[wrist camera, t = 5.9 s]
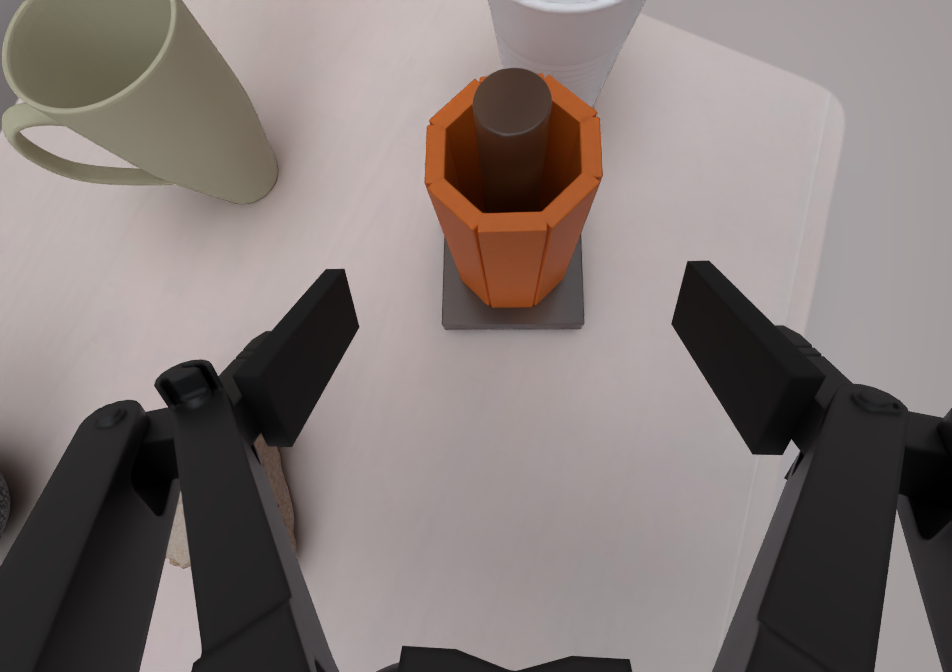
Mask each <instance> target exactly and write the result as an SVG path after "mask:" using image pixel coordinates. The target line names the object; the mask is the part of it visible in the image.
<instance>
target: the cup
mask: <svg viewBox="0 0 952 672" xmlns="http://www.w3.org/2000/svg"><path fill="white" fill-rule="evenodd" d="M645 1H646V0H488V3H489V7H490V12H491V16H492V20H493V24H494V29H495V33H496V38H497V42H498V47H499V52H500V56H501V61H502V65H503V69H506V68H523V69H527V70H530V71H532V72H534V73H536V74H540V73H542V74H543V75H544V78H545V77H546V76H548V75H550V76H552V77H553V78H554V79H556V80H557V81H558V82H560V83H561V84H562V85H563V86H565V87H566V88H567V89H569V90H570V91H571V92H572V93H574V94H575V95H576V96H578V97H579V98H580V99H581V100H583V101H584V102H585V103H587V104H588V105H589V106H591V107H593V105H594V103H595V101H596V99H597V97H598V95H599V93H600V91H601V88H602V86H603V84H604V82H605V80H606V78H607V76H608V74H609V72H610V70H611V68H612V66H613V64H614V62H615V60H616V58H617V56H618V55H619V52H620V50H621V49H622V46H623V44H624V42H625V41H626V38H627V36H628V35H629V32H630V30H631V28H632V27H633V25H634V23H635V21H636V19H637V17H638V15H639V13H640V11H641V9H642V7H643V5H644V3H645Z"/></svg>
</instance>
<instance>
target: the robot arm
mask: <svg viewBox="0 0 952 672" xmlns="http://www.w3.org/2000/svg"><path fill="white" fill-rule="evenodd" d="M671 324H672V326H673V327H674V329H675V331H676V332H677V334H678V335H679V337H680V339H681V340H682V342H683V344H684V345H685V347H686V348H687V350H688V352H689V353H690V355H691V356H692V358H693V360H694V361H695V363H696V364H697V366H698V368H699V369H700V371H701V372H702V374H703V376H704V377H705V379H706V380H707V382H708V384H709V385H710V387H711V388H712V390H713V392H714V393H715V395H716V396H717V398H718V400H719V401H720V403H721V404H722V406H723V408H724V409H725V411H726V412H727V414H728V416H729V417H730V419H731V420H732V422H733V424H734V425H735V427H736V428H737V430H738V432H739V433H740V435H741V437H742V438H743V440H744V441H745V443H746V445H747V446H748V448H749V449H750V451H751V453H752V454H756V455H783V453H784V451H785V449H786V448H787V446H788V444H789V442H790V441H791V439H792V440H793V441H794V443H795V444H796V446H797V447H798V448H799V450H800V452H799V454H798V456H797V457H796V459H795V461H794V463H793V464H792V466H791V468H790V470H789V471H788V473H787V474H786V476H785V479H787V482H786V484H785V487H784V489H783V492H782V494H781V497H780V500H779V502H778V505H777V507H776V510H775V512H774V515H773V517H772V520H771V523H770V525H769V528H768V530H767V533H766V535H765V538H764V540H763V543H762V546H761V548H760V551H759V553H758V556H757V558H756V561H755V563H754V566H753V569H752V571H751V574H750V576H749V579H748V581H747V584H746V586H745V589H744V592H743V594H742V597H741V599H740V602H739V604H738V607H737V609H736V612H735V615H734V617H733V620H732V622H731V625H730V627H729V630H728V632H727V635H726V638H725V640H724V643H723V645H722V648H721V650H720V653H719V655H718V658H717V661H716V663H715V666H714V668H713V671H712V672H874V668H875V661H876V654H877V646H878V639H879V632H880V625H881V618H882V610H883V603H884V596H885V588H886V581H887V574H888V567H889V560H890V552H891V544H892V538H893V531H894V523H895V515H896V509H897V511H898V514H899V518H900V521H901V525H902V529H903V532H904V536H905V539H906V543H907V546H908V550H909V553H910V557H911V560H912V564H913V567H914V571H915V574H916V578H917V581H918V585H919V588H920V592H921V596H922V599H923V602H924V606H925V610H926V613H927V617H928V620H929V624H930V627H931V631H932V634H933V638H934V641H935V645H936V648H937V652H938V655H939V659H940V663H941V666H942V670H943V672H952V408H951V410H950V411H949V412H948V413H947V414H946V416H945V417H944V418H941V417H935V416H930V415H925V414H920V413H914V412H910V411H908V409H907V407H906V406H905V405H904V404H903V403H902V402H901V401H900V400H898V399H896V398H895V397H893V396H892V395H890V394H889V393H886V392H884V391H881V390H879V389H877V388H874V387H870V386H866V385H861V384H853V383H852V382H851V381H849V380H848V379H847V378H846V377H845V376H844V375H843V374H842V373H841V372H840V371H839V370H838V369H836V367H834V366H833V365H832V364H831V363H830V362H829V361H828V360H827V359H826V358H825V357H823V356H821V353H819V352H818V351H817V350H816V349H815V348H812V345H811V344H810V343H809V342H808V341H807V340H806V339H804V338H803V337H802V336H801V335H800V334H798V333H796V332H794V331H793V330H791V329H789V328H787V327H785V326H775V325H774V324H773V323H772V322H771V321H770V320H769V319H768V318H767V317H766V316H765V315H764V314H763V313H762V312H761V311H760V310H758V309H757V308H756V307H755V306H754V305H753V304H752V303H751V302H750V301H749V300H748V299H747V298H746V297H745V296H744V295H743V294H742V293H741V292H740V291H739V290H738V289H737V288H736V287H735V286H734V285H733V284H732V283H731V282H730V281H729V280H728V279H727V278H726V277H725V276H724V275H723V274H722V273H721V272H720V271H719V270H718V269H717V268H716V267H715V266H714V265H713V264H712V263H711V262H710V261H687V265H686V269H685V273H684V277H683V281H682V285H681V288H680V292H679V296H678V300H677V304H676V308H675V312H674V316H673V319H672V323H671ZM358 329H359V324H358V320H357V316H356V312H355V308H354V304H353V300H352V296H351V293H350V289H349V285H348V281H347V277H346V273H345V269H326V270H325V271H324V272H323V273H322V274H321V275H320V277H319V278H318V279H317V280H316V281H315V282H314V283H313V284H312V286H311V287H310V288H309V289H308V290H307V291H306V292H305V294H304V295H303V296H302V297H301V298H300V299H299V300H298V302H297V303H296V304H295V305H294V306H293V307H292V308H291V309H290V311H289V312H288V313H287V314H286V315H285V316H284V317H283V319H282V320H281V321H280V322H279V323H278V324H277V325H276V327H275V328H274V329H273V330H272V331H265V332H264V333H262V334H261V335H259V336H257V337H256V338H254V339H253V340H252V341H251V342H250V343H249V344H248V345H247V346H246V347H245V348H244V349H243V351H241V352H240V354H239V355H238V356H237V357H236V359H234V360H233V361H232V362H231V363H230V364H229V366H228V367H227V368H226V369H225V370H224V371H223V372H222V373H221V374H220V375H219V376H218V375H217V373H216V371H215V369H214V368H213V366H212V364H211V363H210V362H209V361H206V360H191V361H187V362H184V363H180V364H178V365H176V366H174V367H171V368H170V369H168V370H167V371H165V372H164V373H162V374H161V375H160V376H159V377H158V378H157V379H156V382H155V385H154V386H155V388H156V389H157V391H158V392H159V394H160V395H161V397H162V398H163V400H164V401H165V403H166V404H167V406H168V408H163V409H158V410H153V411H149V412H145V410H144V409H143V408H142V406H141V405H140V404H139V403H138V402H137V401H134V400H124V401H118V402H115V403H112V404H108V405H105V406H103V407H102V408H99V409H98V410H96V411H95V412H93V413H92V414H91V415H89V416H88V417H87V418H86V419H85V420H84V421H83V422H82V423H81V425H80V426H79V428H78V430H77V431H76V433H75V435H74V437H73V438H72V440H71V442H70V444H69V446H68V447H67V449H66V451H65V453H64V454H63V456H62V458H61V460H60V462H59V463H58V465H57V467H56V469H55V470H54V472H53V474H52V476H51V478H50V479H49V481H48V483H47V485H46V486H45V488H44V490H43V492H42V494H41V495H40V497H39V499H38V501H37V502H36V504H35V506H34V508H33V510H32V511H31V513H30V515H29V517H28V518H27V520H26V522H25V524H24V526H23V527H22V529H21V531H20V533H19V534H18V536H17V538H16V540H15V542H14V543H13V545H12V547H11V549H10V550H9V552H8V554H7V556H6V558H5V559H4V561H3V563H2V565H1V567H0V672H139V670H140V666H141V661H142V657H143V653H144V648H145V644H146V639H147V635H148V631H149V626H150V622H151V618H152V613H153V609H154V605H155V600H156V596H157V591H158V587H159V583H160V578H161V574H162V570H163V565H164V561H165V557H166V552H167V548H168V544H169V539H170V535H171V530H172V526H173V522H174V517H175V513H176V509H177V504H178V500H179V496H180V491H181V496H182V504H183V511H184V519H185V526H186V533H187V541H188V548H189V556H190V563H191V570H192V578H193V585H194V593H195V600H196V607H197V615H198V622H199V630H200V637H201V645H202V654H201V658H199V659H198V660H197V661H195V662H194V663H193V667H192V671H191V672H339V670H338V668H337V666H336V664H335V661H334V659H333V657H332V654H331V652H330V649H329V646H328V643H327V641H326V638H325V635H324V632H323V630H322V627H321V624H320V621H319V619H318V616H317V613H316V610H315V608H314V605H313V602H312V599H311V596H310V594H309V591H308V588H307V585H306V583H305V580H304V577H303V574H302V572H301V569H300V566H299V563H298V561H297V558H296V555H295V552H294V549H293V547H292V544H291V541H290V538H289V536H288V533H287V530H286V527H285V525H284V522H283V519H282V516H281V514H280V511H279V508H278V505H277V502H276V500H275V497H274V494H273V491H272V489H271V486H270V483H269V480H268V478H267V475H266V472H265V469H264V466H263V464H262V461H261V458H260V455H259V453H258V450H257V448H256V446H255V445H254V442H255V441H256V439H257V438H258V436H259V435H260V433H261V434H262V436H263V438H264V440H265V442H266V444H267V446H268V447H292V446H293V444H294V443H295V441H296V439H297V437H298V435H299V434H300V432H301V430H302V428H303V426H304V425H305V423H306V421H307V419H308V418H309V416H310V414H311V412H312V410H313V409H314V407H315V405H316V403H317V402H318V400H319V398H320V396H321V394H322V393H323V391H324V389H325V387H326V386H327V384H328V382H329V380H330V378H331V377H332V375H333V373H334V371H335V369H336V368H337V366H338V364H339V362H340V361H341V359H342V357H343V355H344V353H345V352H346V350H347V348H348V346H349V345H350V343H351V341H352V339H353V337H354V336H355V334H356V332H357V330H358ZM377 672H632V669H631V664H630V659H615V658H598V657H581V656H570V657H566V658H563V659H559V660H555V661H551V662H548V663H544V664H540V665H537V666H533V667H529V668H526V669H522V670H518V671H511V670H508V669H505V668H502V667H500V666H497V665H495V664H492V663H490V662H487V661H485V660H482V659H480V658H477V657H475V656H472V655H469V654H467V653H464V652H462V651H459V650H457V649H444V648H427V647H410V646H402V650H401V656H400V661H399V663H396V664H392V665H390V666H387V667H385V668H383V669H381V670H378V671H377Z"/></svg>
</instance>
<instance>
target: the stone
mask: <svg viewBox="0 0 952 672" xmlns="http://www.w3.org/2000/svg"><path fill="white" fill-rule="evenodd" d="M254 445H255V446H256V448H257V450H258V453H259V455H260V458H261V461H262V464H263V466H264V469H265V472H266V475H267V478H268V480H269V483H270V486H271V489H272V491H273V494H274V497H275V500H276V502H277V505H278V508H279V511H280V514H281V516H282V519H283V522H284V525H285V527H286V530H287V533H288V536H289V538H290V541H291V544H292V547H293V549H294V552H295V555H296V541H295V537H294V529H293V527H294V513H293V507H292V501H291V499H290V495H289V490H288V487H287V484H286V480H285V477H284V474H283V471H282V468H281V457H280V453H279V451H278V448H277V447H268V446H267V444H266V442H265V440H264V438H263V436H262V434H261V433H260V435H259V436H258V438H257V439H256V441H255V442H254ZM165 558H169V559H170V564H172V565H174V566H180V567H182V568H183V569H184V568H187V567H189V566H191V563H190V556H189V548H188V541H187V533H186V526H185V519H184V511H183V504H182V496H181V491H180V496H179V500H178V504H177V509H176V513H175V517H174V522H173V526H172V530H171V535H170V539H169V544H168V548H167V552H166V557H165Z"/></svg>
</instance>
